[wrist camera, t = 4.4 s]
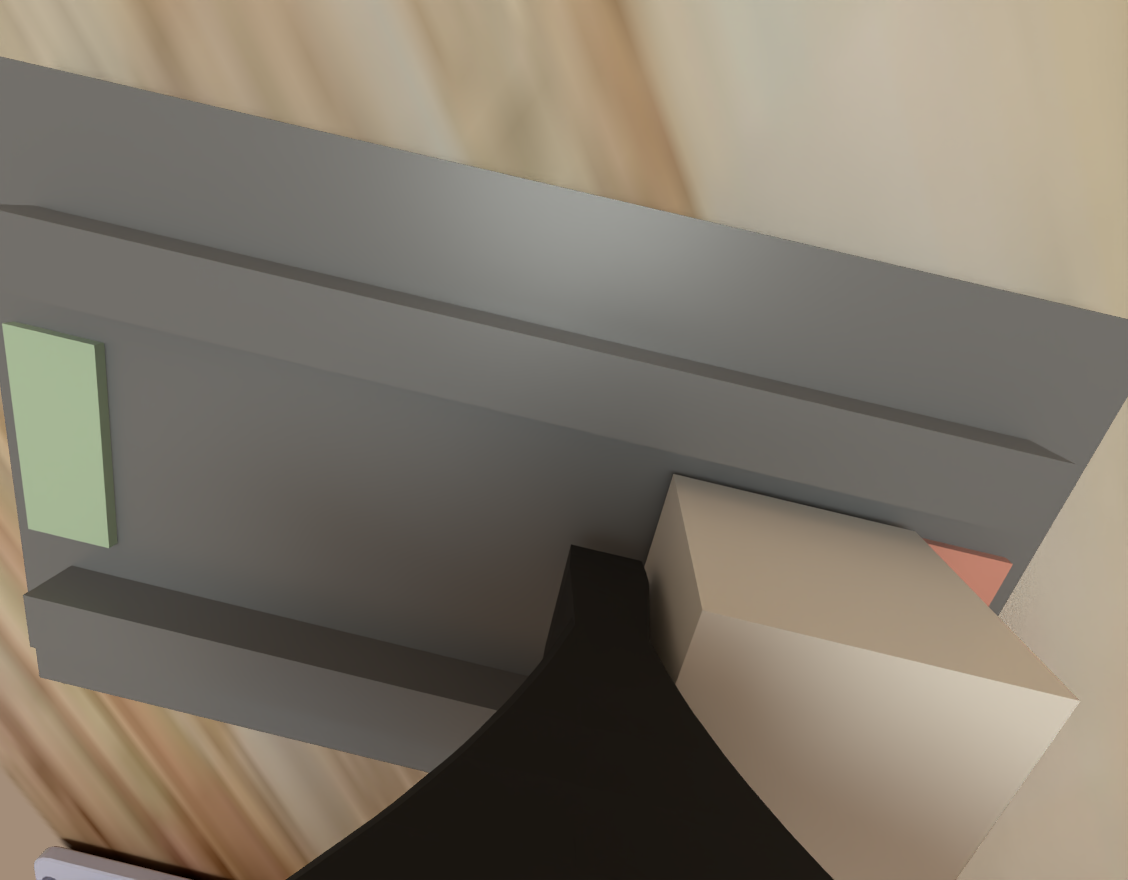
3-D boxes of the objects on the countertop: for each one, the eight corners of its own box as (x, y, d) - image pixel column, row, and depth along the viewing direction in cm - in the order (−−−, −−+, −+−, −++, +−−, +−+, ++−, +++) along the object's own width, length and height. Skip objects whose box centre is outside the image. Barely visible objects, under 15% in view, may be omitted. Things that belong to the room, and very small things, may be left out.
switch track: (822, 809, 14) (863, 926, 12) (97, 632, 14) (-7, 712, 12) (1087, 314, 10) (1237, 341, 7) (48, 71, 10) (-128, 23, 8)
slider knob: (815, 731, 11) (901, 956, 8) (608, 681, 11) (602, 882, 8) (915, 531, 9) (1079, 700, 6) (673, 473, 9) (702, 610, 6)
